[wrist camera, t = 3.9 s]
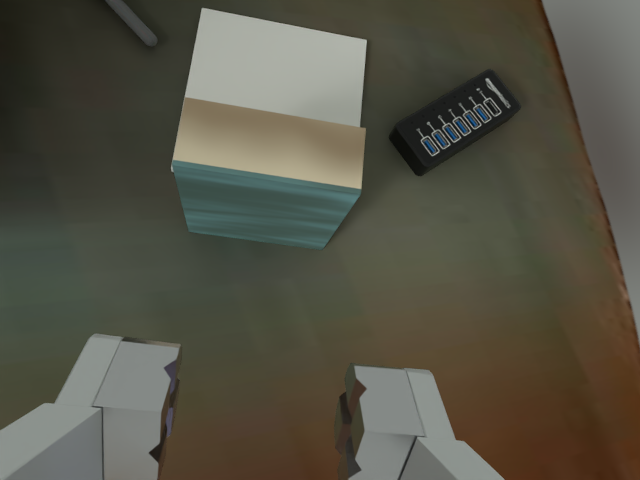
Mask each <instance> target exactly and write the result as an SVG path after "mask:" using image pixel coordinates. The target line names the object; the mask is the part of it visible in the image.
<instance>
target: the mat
mask: <svg viewBox="0 0 640 480" xmlns="http://www.w3.org/2000/svg"><path fill="white" fill-rule="evenodd" d="M366 44H367V40H364V39H359V38H354V37H348V36H343V35H338V34H333V33H328V32H323V31H318V30H313V29H308V28H303V27H298V26H292V25H287V24H282V23H277V22H272V21H267V20H262V19H257V18H252V17H247V16H241V15H236V14H231V13H226V12H221V11H216V10H211V9H206V8H202V11H201V16H200V21H199V26H198V31H197V37H196V42H195V47H194V52H193V57H192V62H191V67H190V73H189V78H188V83H187V88H186V93H185V97H188V98H194V99H199V100H205V101H211V102H217V103H222V104H228V105H234V106H240V107H246V108H251V109H257V110H263V111H269V112H275V113H280V114H286V115H292V116H298V117H304V118H309V119H315V120H321V121H327V122H333V123H338V124H344V125H350V126H356V127H360V118H361V106H362V93H363V81H364V69H365V56H366ZM184 100H185V98H184ZM183 105H184V103H183ZM182 110H183V109H182ZM181 115H182V114H181ZM180 121H181V119H180ZM179 126H180V124H179ZM178 131H179V129H178ZM177 136H178V134H177ZM176 141H177V140H176ZM175 146H176V145H175ZM174 152H175V150H174ZM173 157H174V155H173ZM172 162H173V160H172ZM171 171H172V172H174V171H173V167H172V165H171Z"/></svg>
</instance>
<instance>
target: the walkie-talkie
mask: <svg viewBox="0 0 640 480" xmlns="http://www.w3.org/2000/svg"><path fill="white" fill-rule="evenodd" d="M105 1H106V2H107V3H108V5H109V6H110V7H111V8H112V9H113V10H114V11H115V12H116V13H117V14H118V15H119V16H120V17H121V18H122V19H123V20H124V21H125V23H126V24H127V25H128V26H129V27H130V28H131V29H132V30H133V31H134V32H135V33H136V34H137V35H138V36H139V37H140V38H141V39H142V40H143V42H144V43H145V44H147V45H148V46H155V45H156V44H157V37H156V36H155V35H154V34H153V33H152V32H151V30H150V29H149V28H148V27H147V26H146V25H145V24H144V23H143V22H142V21H141V20H140V19H139V18H138V17H137V16H136V14H135V13H134V12H133V11H132V10H131V9H130V8H129V7H128V6H127V5H126V4H125V3H124V2H123V1H122V0H105Z"/></svg>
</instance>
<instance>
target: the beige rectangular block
mask: <svg viewBox="0 0 640 480" xmlns="http://www.w3.org/2000/svg"><path fill="white" fill-rule="evenodd" d="M365 133H366V128H362V127H356V126H350V125H344V124H338V123H333V122H327V121H321V120H315V119H309V118H304V117H298V116H292V115H286V114H280V113H275V112H269V111H263V110H257V109H251V108H246V107H240V106H234V105H228V104H222V103H217V102H211V101H205V100H199V99H194V98H188V97H185V100H184V105H183V110H182V115H181V121H180V126H179V131H178V136H177V141H176V146H175V152H174V157H173V162H172V167H173V171H174V175H175V179H176V183H177V187H178V191H179V195H180V199H181V203H182V207H183V211H184V215H185V219H186V223H187V227H188V231H189V232H195V233H202V234H209V235H216V236H224V237H231V238H238V239H245V240H253V241H260V242H267V243H274V244H282V245H289V246H296V247H304V248H311V249H318V250H323V248H324V247H325V245H326V244H327V242H328V241H329V240H330V238H331V237H332V235H333V234H334V232H335V231H336V229H337V228H338V227H339V225H340V224H341V222H342V221H343V219H344V218H345V216H346V215H347V213H348V212H349V211H350V209H351V208H352V206H353V205H354V203H355V202H356V200H357V199H358V198H359V196H360V195H361V185H362V172H363V159H364V146H365Z"/></svg>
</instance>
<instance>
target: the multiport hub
mask: <svg viewBox="0 0 640 480" xmlns="http://www.w3.org/2000/svg"><path fill="white" fill-rule="evenodd" d="M520 108H521V105H520V103H519V102H518V101H517V99H516V98H515V97H514V96H513V94H512V93H511V92H510V90H509V89H508V88H507V87H506V85H505V84H504V83H503V82H502V80H501V79H500V78H499V77H498V75H497V74H496V73H495V72H494V71H493V70H491V69H488V70H486V71H484V72H483V73H481V74H479V75H478V76H476V77H474V78H472V79H471V80H469V81H467V82H466V83H464V84H462V85H461V86H459V87H457V88H456V89H454V90H452V91H450V92H449V93H447V94H445V95H444V96H442V97H440V98H439V99H437V100H435V101H434V102H432V103H430V104H428V105H427V106H425V107H423V108H422V109H420V110H418V111H417V112H415V113H413V114H411V115H410V116H408V117H406V118H405V119H403V120H401V121H400V122H398V123H397V124H396V126H395V127H394V129H393V130H392V132H391V133H390V135H389V139H390V141H391V142H392V143H393V145H394V146H395V147H396V149H397V150H398V151H399V153H400V154H401V156H402V157H403V158H404V160H405V161H406V162H407V164H408V165H409V166H410V168H411V169H412V170H413V172H414V173H415V174H416V175H417V176H422V175H424V174H425V173H427V172H429V171H430V170H432V169H433V168H435V167H436V166H438V165H439V164H441V163H443V162H444V161H446V160H447V159H449V158H450V157H452V156H453V155H455V154H457V153H458V152H460V151H461V150H463V149H464V148H466V147H468V146H469V145H471V144H472V143H474V142H475V141H477V140H478V139H480V138H482V137H483V136H485V135H486V134H488V133H489V132H491V131H492V130H494V129H496V128H497V127H499V126H500V125H502V124H503V123H505V122H507V121H508V120H509V119H510V118H511V117H512V116H513V115H514V114H515V113H516V112H518V111H519V110H520Z"/></svg>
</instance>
